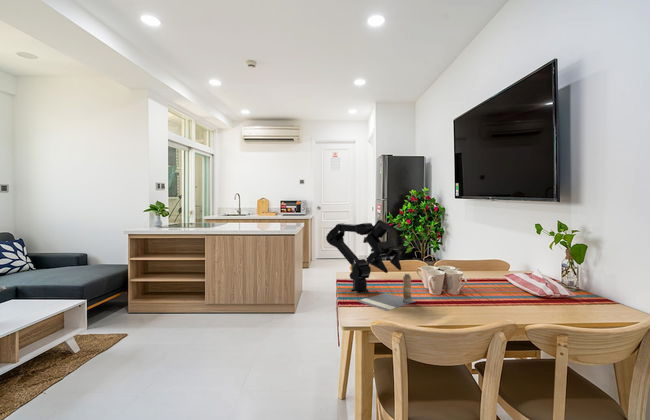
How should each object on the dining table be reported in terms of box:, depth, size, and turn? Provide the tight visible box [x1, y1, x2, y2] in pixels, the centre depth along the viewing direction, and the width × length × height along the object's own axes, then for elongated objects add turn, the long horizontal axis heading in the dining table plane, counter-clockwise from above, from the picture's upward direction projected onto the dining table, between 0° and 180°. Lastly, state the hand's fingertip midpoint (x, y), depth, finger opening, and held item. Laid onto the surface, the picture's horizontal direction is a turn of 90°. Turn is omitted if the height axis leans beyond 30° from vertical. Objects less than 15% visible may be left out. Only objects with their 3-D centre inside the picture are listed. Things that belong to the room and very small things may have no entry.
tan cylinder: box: [402, 273, 412, 304], centre depth 144 cm, size 4×4×12 cm
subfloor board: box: [356, 292, 417, 312], centre depth 145 cm, size 17×20×1 cm
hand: (394, 271), depth 149 cm, fingers open, 9 cm apart
